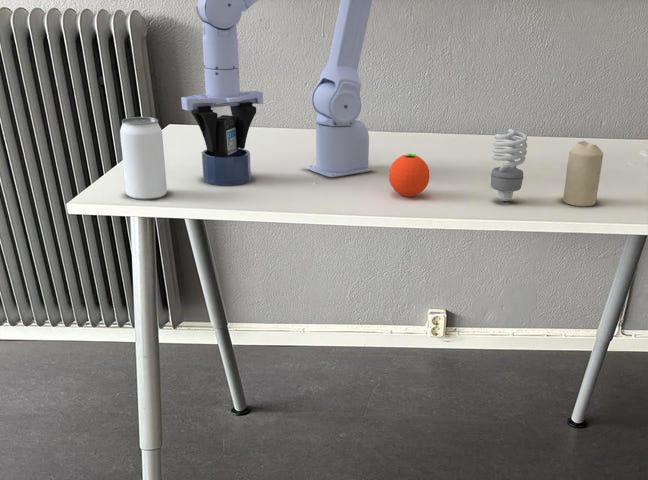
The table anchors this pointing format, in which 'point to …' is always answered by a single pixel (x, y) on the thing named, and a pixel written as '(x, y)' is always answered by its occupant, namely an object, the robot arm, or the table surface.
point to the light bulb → (508, 164)
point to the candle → (583, 174)
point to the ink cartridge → (226, 136)
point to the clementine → (409, 175)
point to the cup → (226, 168)
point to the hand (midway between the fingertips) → (225, 149)
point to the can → (143, 158)
